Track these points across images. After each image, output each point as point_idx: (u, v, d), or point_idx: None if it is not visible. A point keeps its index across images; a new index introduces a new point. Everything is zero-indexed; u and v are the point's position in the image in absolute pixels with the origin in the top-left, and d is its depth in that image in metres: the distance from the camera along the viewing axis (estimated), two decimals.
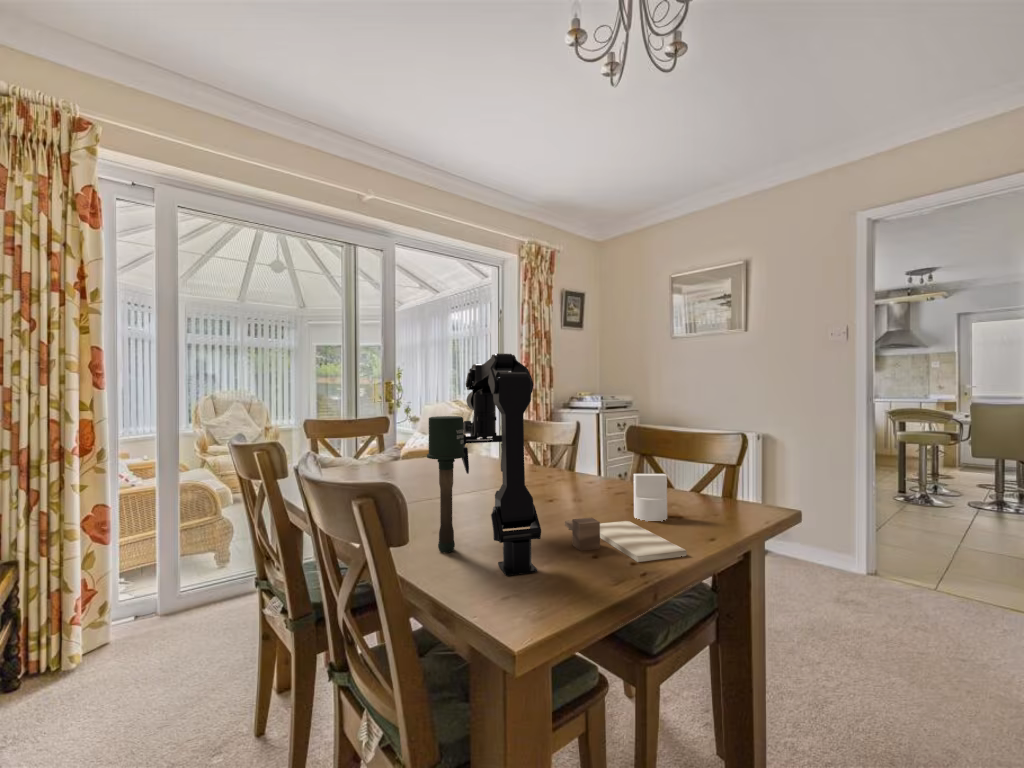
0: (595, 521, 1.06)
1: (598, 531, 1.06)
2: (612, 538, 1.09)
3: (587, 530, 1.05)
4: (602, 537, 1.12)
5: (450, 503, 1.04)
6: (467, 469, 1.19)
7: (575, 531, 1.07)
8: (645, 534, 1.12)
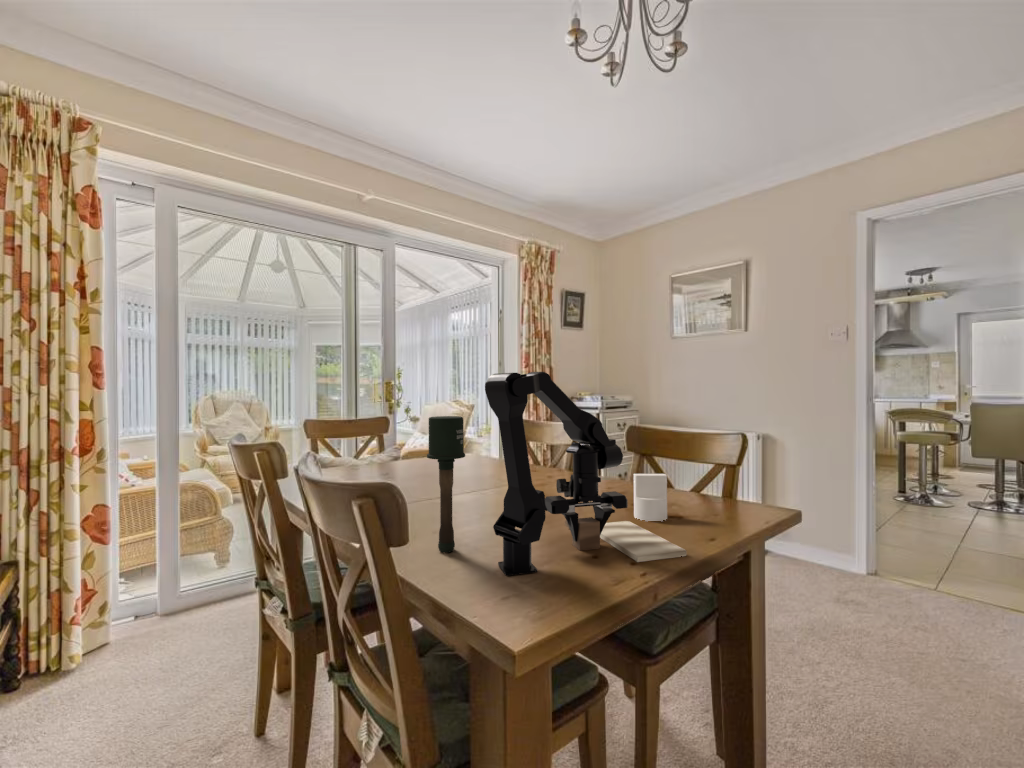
0: (595, 521, 1.06)
1: (598, 531, 1.06)
2: (612, 538, 1.09)
3: (587, 530, 1.05)
4: (602, 537, 1.12)
5: (450, 503, 1.04)
6: (576, 537, 1.05)
7: None
8: (645, 534, 1.12)
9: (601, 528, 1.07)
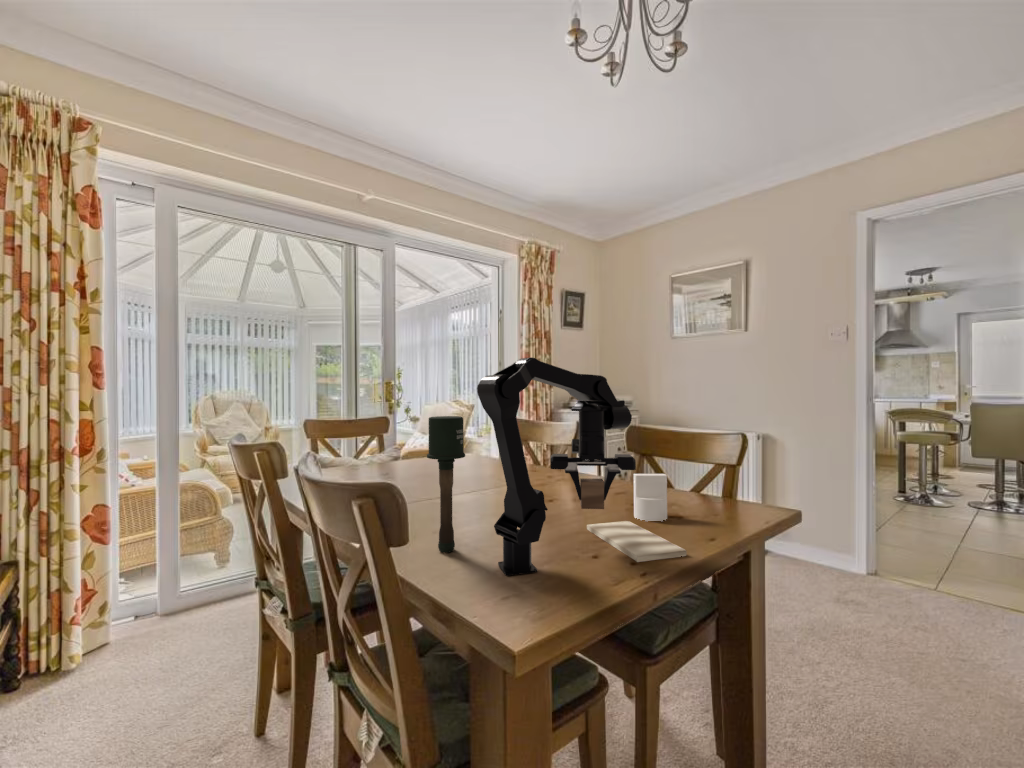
0: (600, 481, 1.04)
1: (601, 491, 1.04)
2: (612, 538, 1.09)
3: (590, 489, 1.04)
4: (602, 537, 1.12)
5: (450, 503, 1.04)
6: (579, 495, 1.05)
7: None
8: (645, 534, 1.12)
9: (606, 489, 1.04)
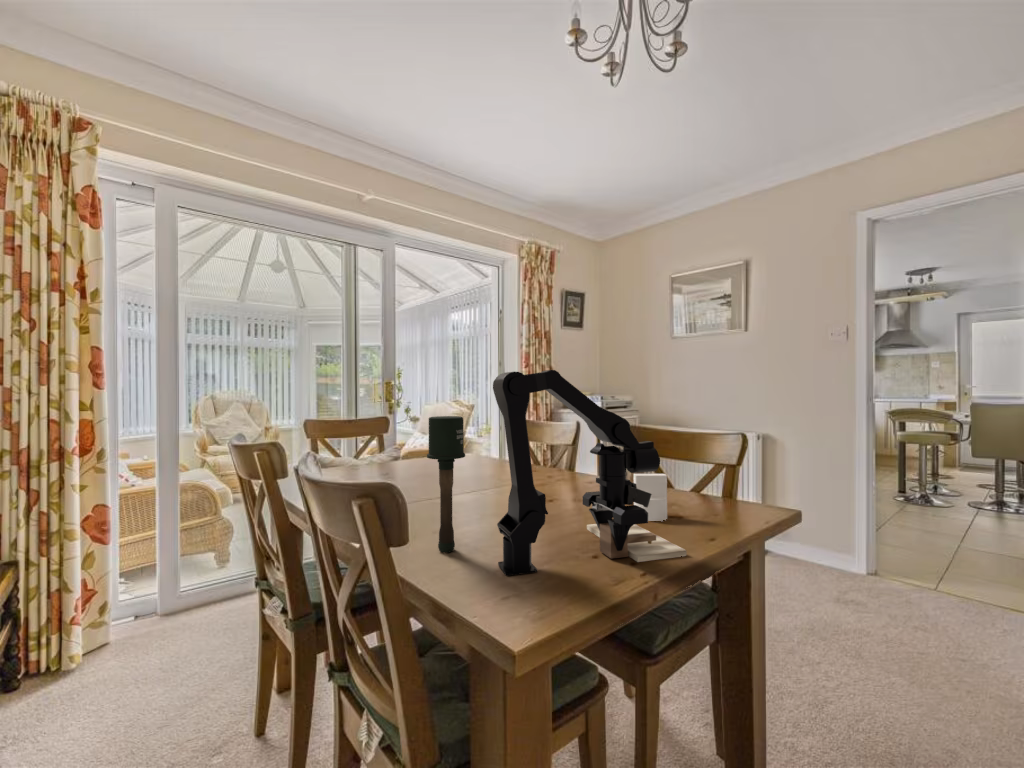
0: None
1: (609, 539, 0.99)
2: None
3: (603, 533, 1.01)
4: None
5: (450, 503, 1.04)
6: None
7: None
8: None
9: (614, 538, 0.98)
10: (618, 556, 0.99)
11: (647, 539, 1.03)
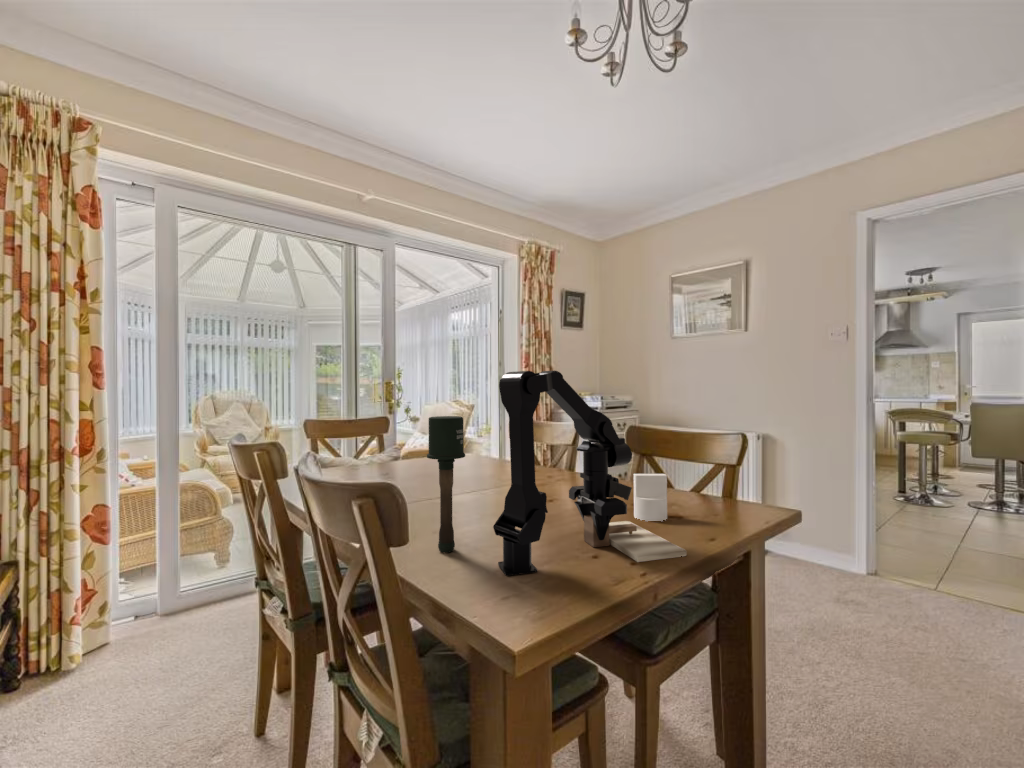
0: None
1: (592, 529, 1.07)
2: (612, 538, 1.09)
3: (587, 524, 1.09)
4: None
5: (450, 503, 1.04)
6: None
7: None
8: (645, 534, 1.12)
9: (596, 529, 1.06)
10: (600, 545, 1.07)
11: (628, 530, 1.10)
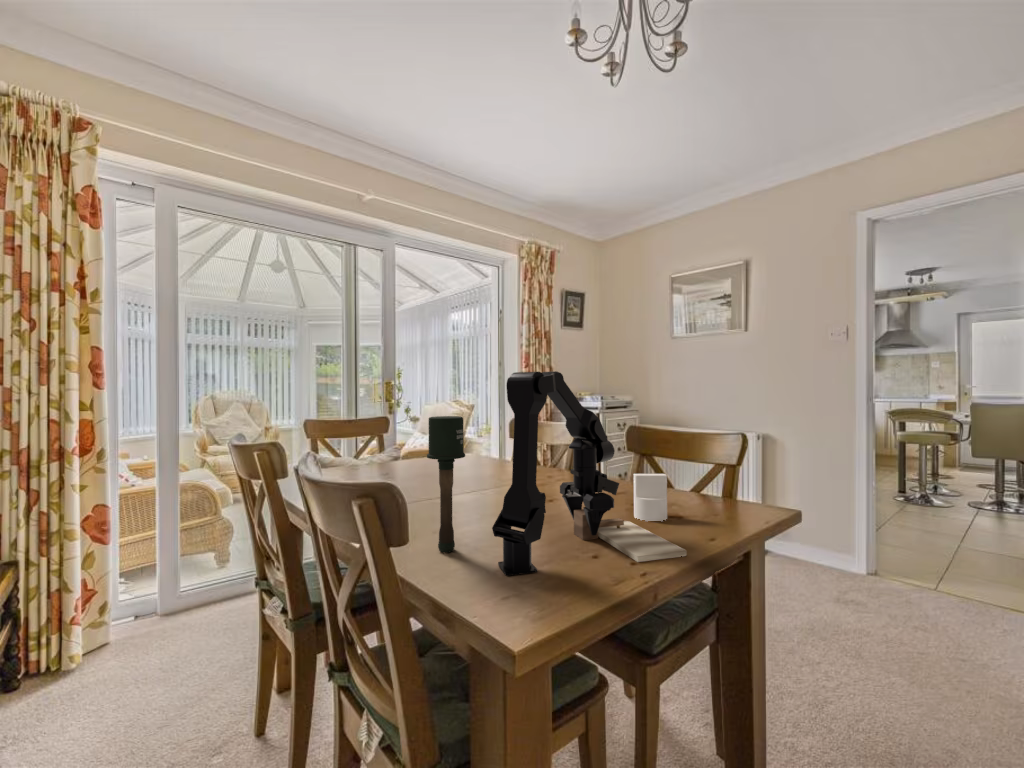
0: (583, 514, 1.13)
1: (581, 523, 1.12)
2: (612, 538, 1.09)
3: (577, 518, 1.15)
4: (602, 537, 1.12)
5: (450, 503, 1.04)
6: (573, 519, 1.19)
7: None
8: (645, 534, 1.12)
9: (588, 524, 1.09)
10: (589, 538, 1.12)
11: (616, 524, 1.16)
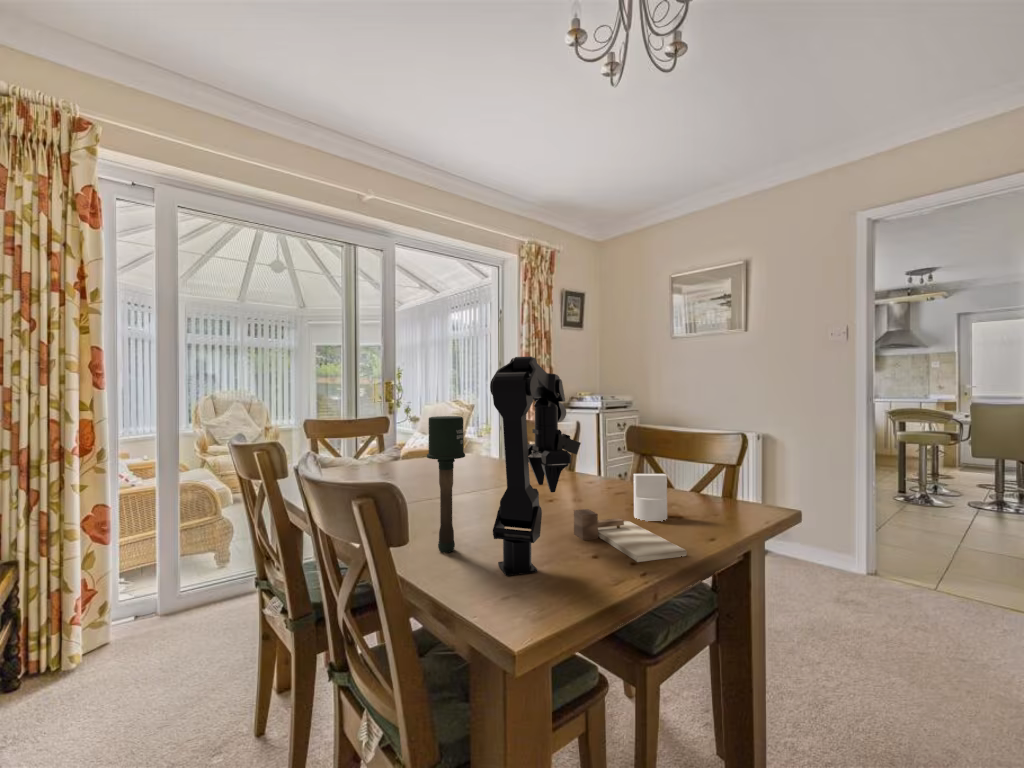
0: (583, 514, 1.13)
1: (581, 523, 1.12)
2: (612, 538, 1.09)
3: (577, 518, 1.15)
4: (602, 537, 1.12)
5: (450, 503, 1.04)
6: (537, 480, 1.20)
7: None
8: (645, 534, 1.12)
9: (547, 481, 1.10)
10: (589, 538, 1.12)
11: (616, 524, 1.16)
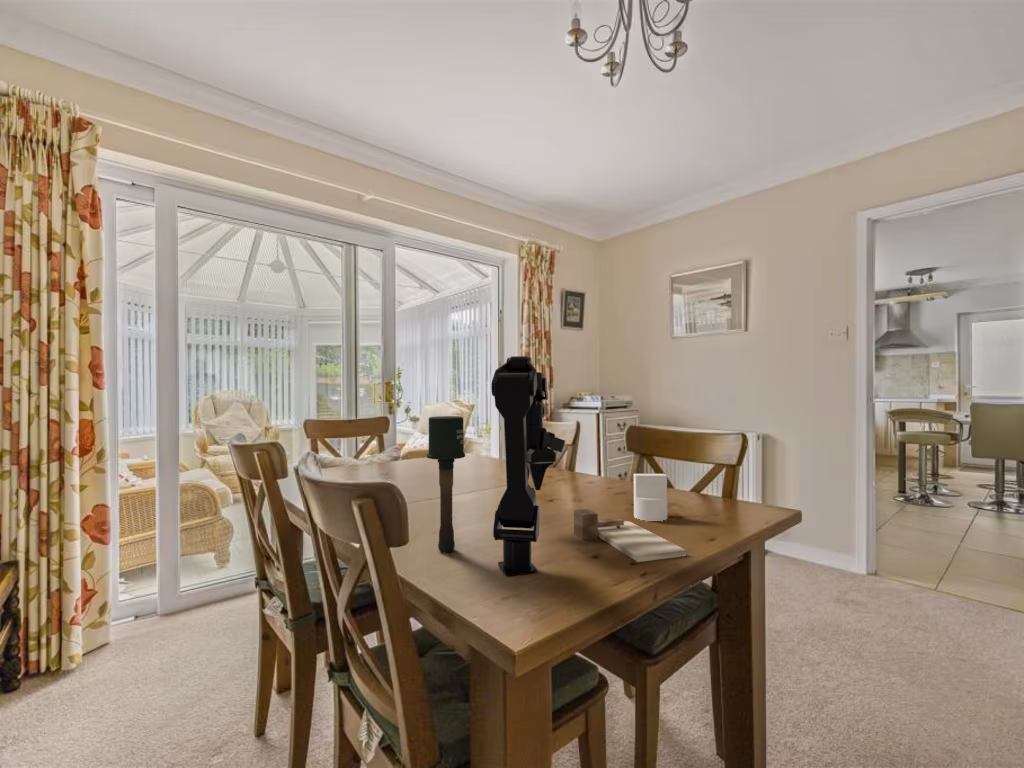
0: (583, 514, 1.13)
1: (581, 523, 1.12)
2: (612, 538, 1.09)
3: (577, 518, 1.15)
4: (602, 537, 1.12)
5: (450, 503, 1.04)
6: None
7: None
8: (645, 534, 1.12)
9: (532, 479, 1.11)
10: (589, 538, 1.12)
11: (616, 524, 1.16)
